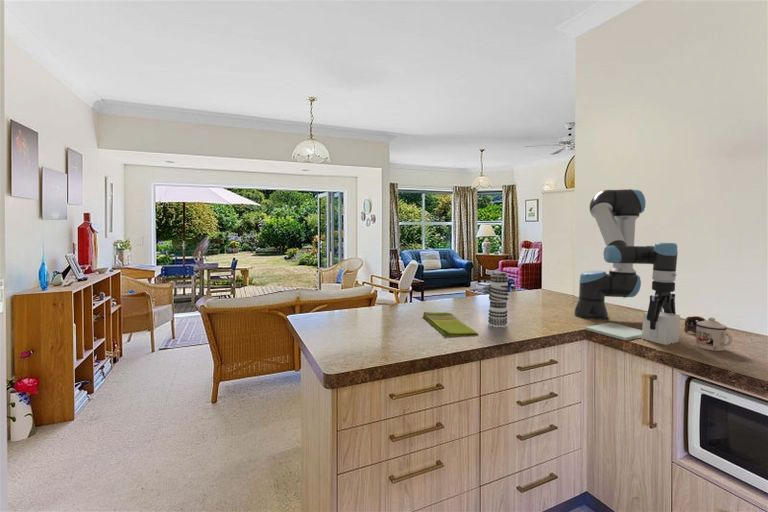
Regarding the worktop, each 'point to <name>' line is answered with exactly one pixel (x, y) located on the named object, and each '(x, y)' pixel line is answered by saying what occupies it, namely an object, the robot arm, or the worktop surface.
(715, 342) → the teacup with lid
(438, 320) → the dish towel
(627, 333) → the board
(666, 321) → the white block
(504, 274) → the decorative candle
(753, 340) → the worktop surface
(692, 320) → the pottery mug
